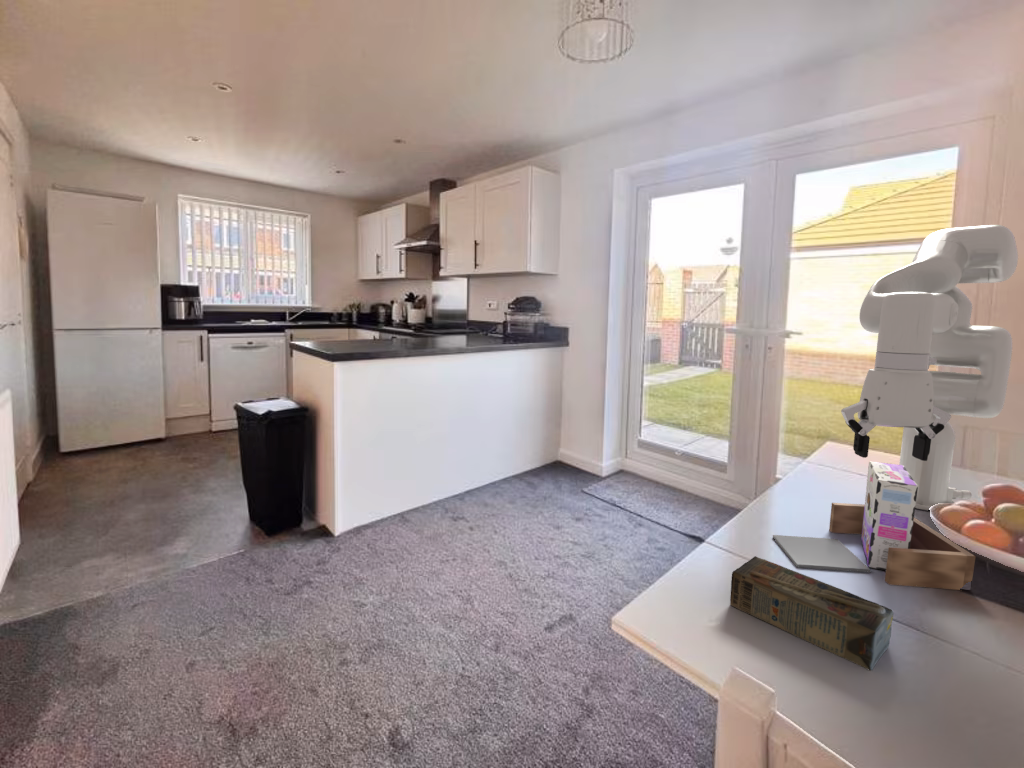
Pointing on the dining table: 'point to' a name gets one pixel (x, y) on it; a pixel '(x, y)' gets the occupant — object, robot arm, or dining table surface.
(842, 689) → the dining table surface
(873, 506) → the candy box
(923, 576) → the bracket
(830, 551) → the mat
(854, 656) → the beverage carton
